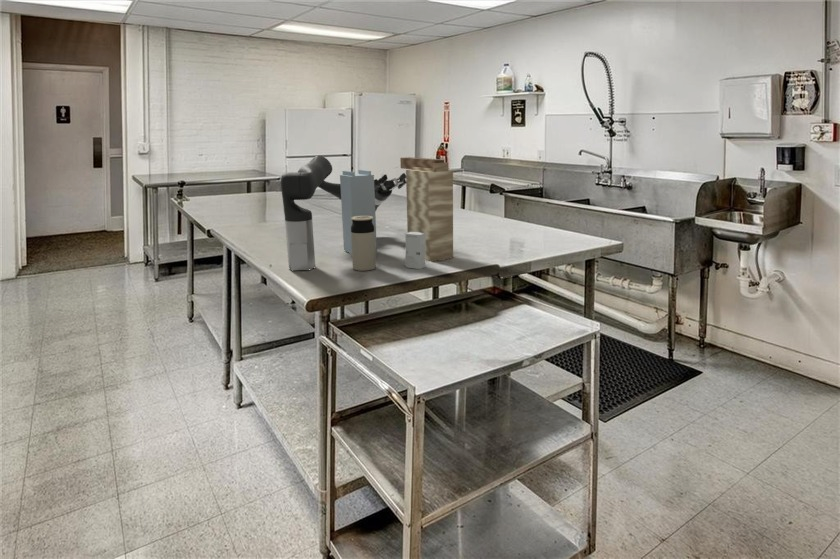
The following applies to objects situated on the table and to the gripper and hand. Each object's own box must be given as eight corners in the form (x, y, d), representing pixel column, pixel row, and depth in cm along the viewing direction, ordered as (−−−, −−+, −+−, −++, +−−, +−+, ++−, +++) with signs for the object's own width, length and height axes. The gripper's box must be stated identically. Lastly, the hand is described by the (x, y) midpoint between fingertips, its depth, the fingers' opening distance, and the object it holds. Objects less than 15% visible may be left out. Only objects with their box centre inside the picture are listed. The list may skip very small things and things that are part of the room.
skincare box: (405, 267, 195) (404, 233, 192) (411, 264, 199) (410, 231, 196) (420, 269, 192) (419, 234, 189) (426, 266, 196) (426, 232, 193)
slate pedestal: (376, 251, 220) (373, 170, 212) (354, 255, 215) (349, 172, 207) (366, 248, 228) (363, 169, 219) (344, 251, 223) (339, 171, 214)
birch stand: (453, 257, 208) (452, 162, 199) (430, 261, 203) (429, 163, 194) (429, 250, 221) (428, 160, 212) (408, 253, 216) (405, 161, 207)
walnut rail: (444, 171, 199) (444, 159, 198) (435, 171, 197) (435, 160, 196) (409, 167, 218) (409, 157, 217) (400, 168, 216) (400, 157, 215)
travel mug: (380, 268, 195) (378, 216, 190) (363, 272, 189) (361, 219, 185) (365, 264, 200) (362, 214, 195) (348, 269, 195) (345, 217, 190)
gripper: (362, 186, 235) (377, 168, 222) (391, 184, 243) (408, 166, 229) (367, 202, 234) (382, 185, 220) (396, 199, 241) (413, 183, 228)
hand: (395, 175), depth 225 cm, fingers open, 8 cm apart
